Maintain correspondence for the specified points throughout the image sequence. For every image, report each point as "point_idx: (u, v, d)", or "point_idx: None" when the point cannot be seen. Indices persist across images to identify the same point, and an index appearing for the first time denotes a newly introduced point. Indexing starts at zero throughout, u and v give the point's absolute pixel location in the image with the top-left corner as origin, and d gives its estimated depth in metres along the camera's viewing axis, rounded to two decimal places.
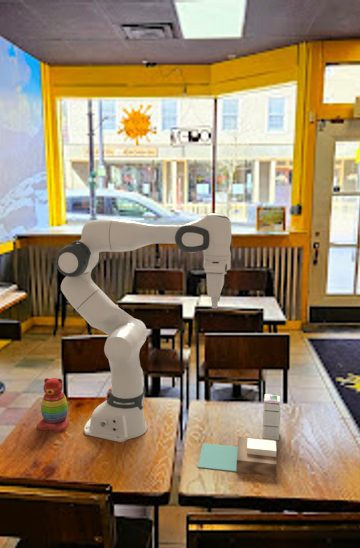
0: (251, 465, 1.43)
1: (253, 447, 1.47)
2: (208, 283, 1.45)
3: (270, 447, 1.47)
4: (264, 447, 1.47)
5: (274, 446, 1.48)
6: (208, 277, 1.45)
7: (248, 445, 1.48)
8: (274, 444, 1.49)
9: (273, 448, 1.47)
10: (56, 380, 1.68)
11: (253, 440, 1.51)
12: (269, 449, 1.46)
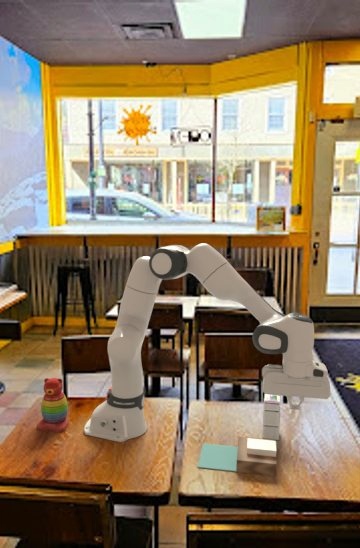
0: (251, 465, 1.43)
1: (253, 447, 1.47)
2: None
3: (270, 447, 1.47)
4: (264, 447, 1.47)
5: (274, 446, 1.48)
6: (328, 380, 1.40)
7: (248, 445, 1.48)
8: (274, 444, 1.49)
9: (273, 448, 1.47)
10: (56, 380, 1.68)
11: (253, 440, 1.51)
12: (269, 449, 1.46)
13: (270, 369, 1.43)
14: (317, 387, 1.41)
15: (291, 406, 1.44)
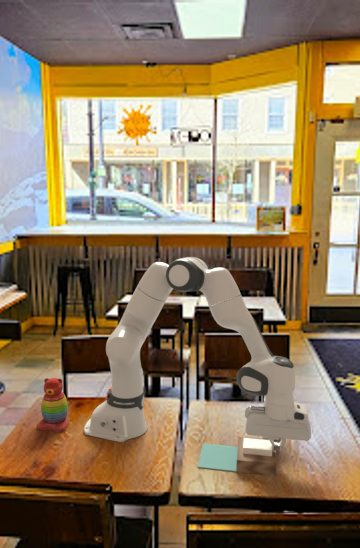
0: (251, 465, 1.43)
1: (249, 447, 1.47)
2: (310, 428, 1.43)
3: (266, 446, 1.47)
4: (260, 447, 1.47)
5: (270, 446, 1.48)
6: (309, 423, 1.43)
7: (244, 445, 1.48)
8: (270, 444, 1.49)
9: (269, 447, 1.47)
10: (56, 380, 1.68)
11: (249, 440, 1.51)
12: (265, 448, 1.46)
13: (253, 411, 1.47)
14: (299, 429, 1.44)
15: (273, 447, 1.47)
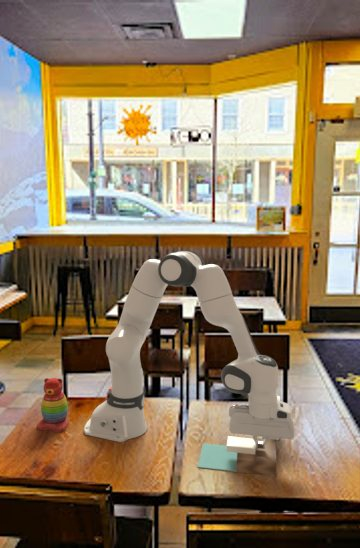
0: (251, 465, 1.43)
1: (233, 445, 1.48)
2: (293, 427, 1.44)
3: (249, 444, 1.48)
4: (243, 445, 1.48)
5: (254, 444, 1.49)
6: (292, 421, 1.44)
7: (228, 443, 1.49)
8: (254, 442, 1.50)
9: (253, 445, 1.48)
10: (56, 380, 1.68)
11: (233, 438, 1.52)
12: (249, 447, 1.47)
13: (236, 409, 1.48)
14: (282, 428, 1.45)
15: (257, 445, 1.48)
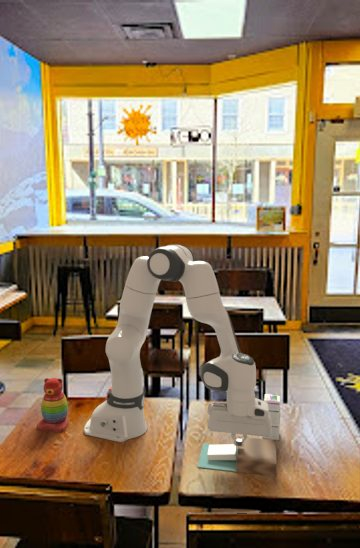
0: (251, 465, 1.43)
1: (213, 453, 1.49)
2: None
3: (230, 450, 1.50)
4: (224, 452, 1.49)
5: (234, 449, 1.50)
6: (270, 419, 1.45)
7: (209, 451, 1.51)
8: (234, 447, 1.51)
9: (233, 451, 1.49)
10: (56, 380, 1.68)
11: (214, 446, 1.54)
12: (229, 453, 1.48)
13: (215, 407, 1.49)
14: (259, 425, 1.46)
15: (235, 443, 1.49)
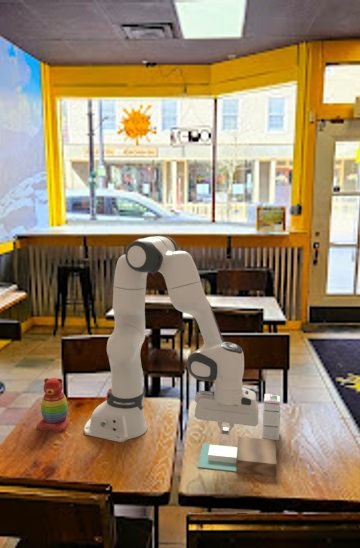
0: (251, 465, 1.43)
1: (214, 454, 1.49)
2: (257, 414, 1.45)
3: (231, 453, 1.50)
4: (225, 454, 1.49)
5: (235, 453, 1.50)
6: (256, 408, 1.45)
7: (210, 452, 1.51)
8: (235, 451, 1.51)
9: (234, 454, 1.49)
10: (56, 380, 1.68)
11: (215, 447, 1.54)
12: (230, 456, 1.49)
13: (202, 395, 1.49)
14: (246, 415, 1.46)
15: (221, 431, 1.49)
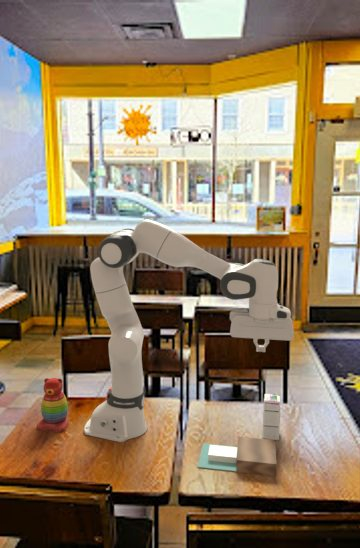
0: (251, 465, 1.43)
1: (214, 454, 1.49)
2: (293, 328, 1.47)
3: (231, 453, 1.50)
4: (225, 454, 1.49)
5: (235, 453, 1.50)
6: (292, 322, 1.46)
7: (210, 452, 1.51)
8: (235, 451, 1.51)
9: (234, 454, 1.49)
10: (56, 380, 1.68)
11: (215, 447, 1.54)
12: (230, 456, 1.49)
13: (237, 313, 1.50)
14: (282, 329, 1.47)
15: (257, 348, 1.51)
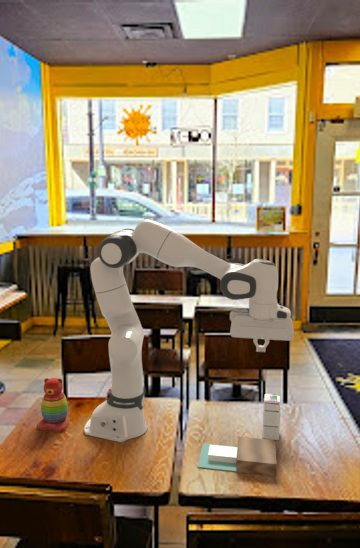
0: (251, 465, 1.43)
1: (214, 454, 1.49)
2: (293, 328, 1.47)
3: (231, 453, 1.50)
4: (225, 454, 1.49)
5: (235, 453, 1.50)
6: (292, 322, 1.46)
7: (210, 452, 1.51)
8: (235, 451, 1.51)
9: (234, 454, 1.49)
10: (56, 380, 1.68)
11: (215, 447, 1.54)
12: (230, 456, 1.49)
13: (237, 313, 1.50)
14: (282, 329, 1.47)
15: (257, 348, 1.51)
